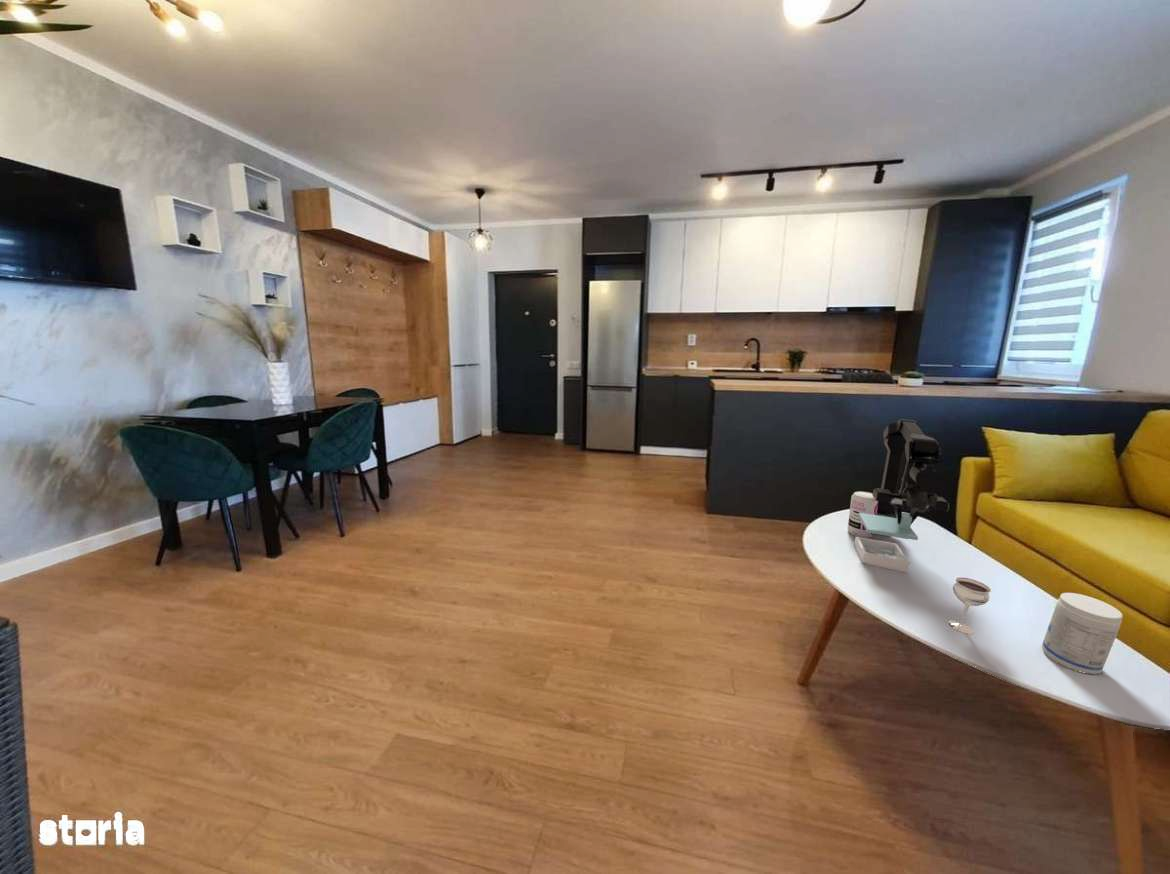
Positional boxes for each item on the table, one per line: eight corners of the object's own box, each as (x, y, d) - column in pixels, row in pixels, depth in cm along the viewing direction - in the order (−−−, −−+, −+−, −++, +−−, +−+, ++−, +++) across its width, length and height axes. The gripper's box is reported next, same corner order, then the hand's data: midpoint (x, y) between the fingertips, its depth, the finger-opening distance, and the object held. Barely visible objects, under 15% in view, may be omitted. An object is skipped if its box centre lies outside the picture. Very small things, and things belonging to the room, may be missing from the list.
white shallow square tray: (853, 545, 151) (855, 536, 150) (894, 553, 146) (896, 543, 146) (861, 563, 139) (864, 553, 138) (906, 572, 135) (908, 562, 134)
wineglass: (937, 617, 113) (948, 576, 110) (963, 618, 113) (975, 577, 110) (957, 635, 107) (970, 592, 104) (986, 636, 106) (999, 593, 104)
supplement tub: (1043, 639, 106) (1061, 586, 103) (1102, 663, 99) (1124, 606, 96) (1038, 657, 100) (1057, 601, 97) (1100, 683, 93) (1124, 624, 90)
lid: (857, 517, 149) (860, 501, 147) (902, 524, 144) (906, 508, 143) (867, 534, 136) (870, 517, 135) (916, 542, 131) (920, 524, 130)
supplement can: (873, 531, 161) (878, 493, 158) (873, 540, 154) (879, 500, 151) (847, 527, 165) (852, 489, 162) (846, 535, 158) (851, 496, 155)
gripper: (886, 481, 130) (875, 529, 134) (962, 491, 124) (949, 541, 127) (877, 470, 140) (867, 515, 144) (947, 479, 134) (935, 526, 137)
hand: (903, 524), depth 138 cm, fingers closed on lid, 2 cm apart
